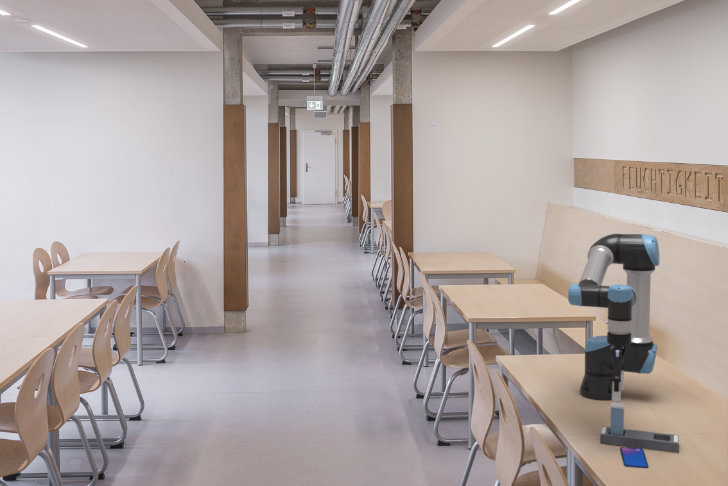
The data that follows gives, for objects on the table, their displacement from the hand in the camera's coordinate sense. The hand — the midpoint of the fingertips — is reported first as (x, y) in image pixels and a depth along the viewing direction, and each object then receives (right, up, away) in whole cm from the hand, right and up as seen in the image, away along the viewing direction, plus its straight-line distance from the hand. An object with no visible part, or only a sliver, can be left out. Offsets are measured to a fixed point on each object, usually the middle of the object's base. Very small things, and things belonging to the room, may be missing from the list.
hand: (617, 394), depth 251 cm
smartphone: (+1, -18, -12) cm, 22 cm away
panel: (+7, -16, -1) cm, 17 cm away
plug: (0, -16, +2) cm, 16 cm away
